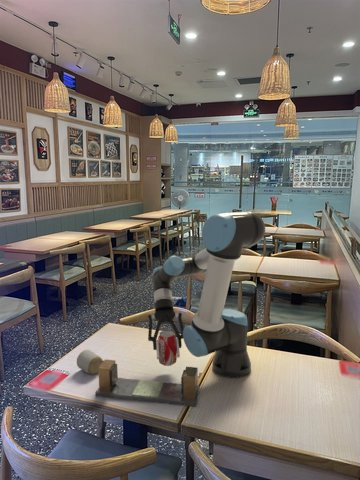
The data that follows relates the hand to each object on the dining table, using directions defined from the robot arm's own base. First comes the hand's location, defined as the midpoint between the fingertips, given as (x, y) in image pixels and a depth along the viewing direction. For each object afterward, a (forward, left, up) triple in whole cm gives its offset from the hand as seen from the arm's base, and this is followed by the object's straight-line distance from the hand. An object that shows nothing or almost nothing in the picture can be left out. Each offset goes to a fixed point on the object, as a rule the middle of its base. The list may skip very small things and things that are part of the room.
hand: (168, 357), depth 132 cm
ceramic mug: (+31, -1, -9) cm, 32 cm away
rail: (+5, +11, -8) cm, 15 cm away
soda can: (+1, -3, -4) cm, 6 cm away
